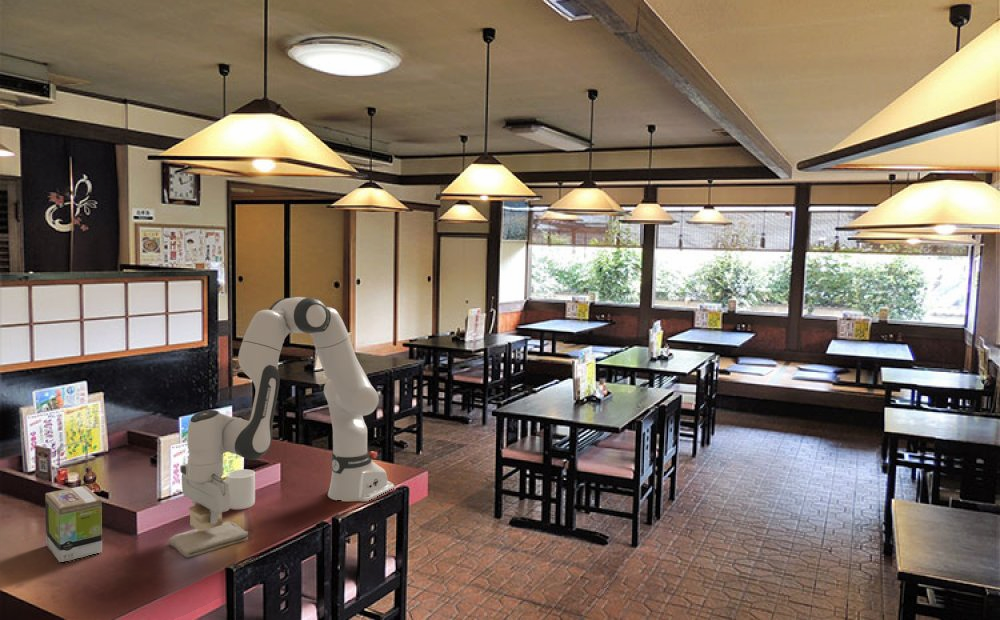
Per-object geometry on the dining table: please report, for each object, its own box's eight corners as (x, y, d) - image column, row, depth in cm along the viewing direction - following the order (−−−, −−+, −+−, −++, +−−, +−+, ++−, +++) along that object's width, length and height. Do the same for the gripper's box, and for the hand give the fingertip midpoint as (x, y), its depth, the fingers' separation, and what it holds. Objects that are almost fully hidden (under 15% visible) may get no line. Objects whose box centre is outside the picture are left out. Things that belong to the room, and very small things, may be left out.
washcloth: (251, 540, 190) (251, 529, 189) (185, 561, 177) (185, 549, 176) (231, 527, 198) (231, 517, 198) (167, 546, 185) (167, 535, 184)
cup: (260, 504, 214) (260, 473, 213) (224, 515, 205) (223, 483, 204) (246, 498, 220) (245, 467, 219) (210, 508, 210) (210, 476, 209)
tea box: (104, 553, 179) (102, 498, 177) (59, 565, 172) (57, 508, 170) (87, 535, 189) (86, 483, 188) (45, 545, 182) (43, 492, 181)
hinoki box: (211, 518, 192) (211, 501, 191) (222, 524, 188) (222, 507, 187) (189, 525, 187) (189, 507, 186) (200, 531, 183) (200, 513, 182)
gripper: (236, 476, 182) (236, 526, 183) (199, 459, 195) (199, 506, 196) (213, 482, 177) (214, 533, 178) (176, 464, 190) (177, 512, 191)
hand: (206, 519), depth 187 cm, fingers closed on hinoki box, 6 cm apart
